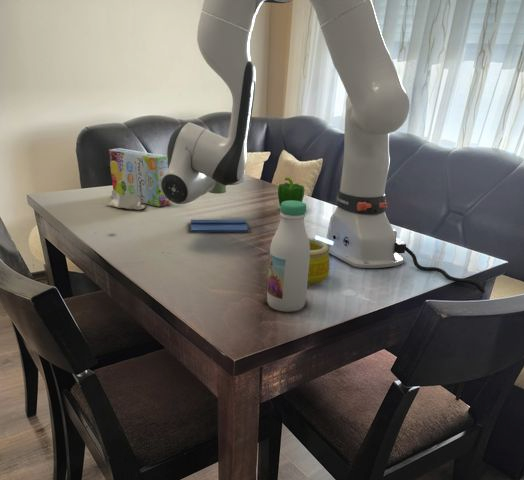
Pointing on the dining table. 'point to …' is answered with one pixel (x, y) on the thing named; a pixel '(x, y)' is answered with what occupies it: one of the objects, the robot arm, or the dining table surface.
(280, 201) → the bell pepper
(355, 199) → the robot arm
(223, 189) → the spice jar
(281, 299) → the milk bottle
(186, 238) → the dining table surface
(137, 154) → the snack box
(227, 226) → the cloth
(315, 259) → the mug
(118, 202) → the fabric
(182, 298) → the dining table surface
